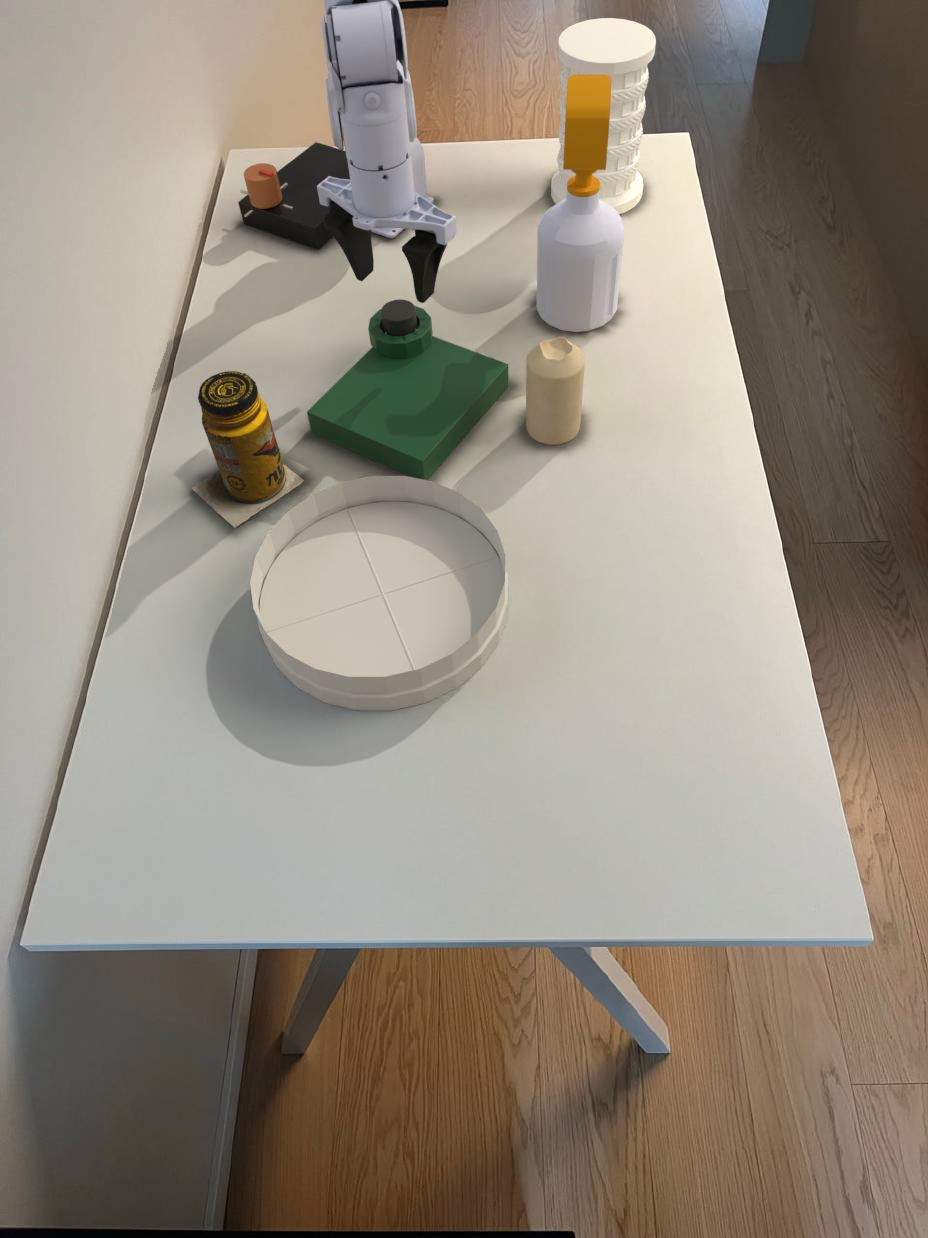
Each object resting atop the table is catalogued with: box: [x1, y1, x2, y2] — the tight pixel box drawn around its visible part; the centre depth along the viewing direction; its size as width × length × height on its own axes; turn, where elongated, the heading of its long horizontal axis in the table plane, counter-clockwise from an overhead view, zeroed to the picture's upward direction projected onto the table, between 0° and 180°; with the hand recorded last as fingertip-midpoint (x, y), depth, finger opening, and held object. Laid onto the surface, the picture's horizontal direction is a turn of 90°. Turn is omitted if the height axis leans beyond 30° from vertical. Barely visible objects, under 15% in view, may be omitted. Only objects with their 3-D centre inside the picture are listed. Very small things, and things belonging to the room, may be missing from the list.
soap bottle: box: [536, 75, 625, 333], centre depth 97 cm, size 9×9×25 cm
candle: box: [525, 336, 586, 446], centre depth 92 cm, size 6×6×10 cm
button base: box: [306, 305, 510, 480], centre depth 97 cm, size 17×15×5 cm
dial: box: [243, 162, 282, 209], centre depth 116 cm, size 4×4×4 cm
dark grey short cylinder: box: [380, 298, 417, 336], centre depth 99 cm, size 4×4×2 cm
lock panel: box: [237, 141, 350, 251], centre depth 121 cm, size 18×13×3 cm
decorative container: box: [550, 17, 657, 215], centre depth 113 cm, size 12×12×18 cm
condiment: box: [191, 370, 305, 529], centre depth 89 cm, size 7×8×12 cm
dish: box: [249, 475, 509, 712], centre depth 82 cm, size 22×22×5 cm
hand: (395, 285), depth 96 cm, fingers open, 7 cm apart
